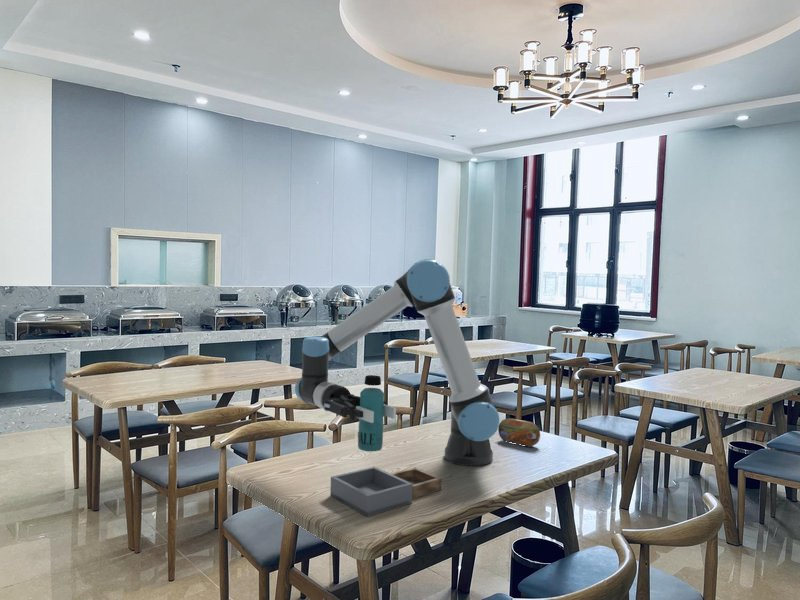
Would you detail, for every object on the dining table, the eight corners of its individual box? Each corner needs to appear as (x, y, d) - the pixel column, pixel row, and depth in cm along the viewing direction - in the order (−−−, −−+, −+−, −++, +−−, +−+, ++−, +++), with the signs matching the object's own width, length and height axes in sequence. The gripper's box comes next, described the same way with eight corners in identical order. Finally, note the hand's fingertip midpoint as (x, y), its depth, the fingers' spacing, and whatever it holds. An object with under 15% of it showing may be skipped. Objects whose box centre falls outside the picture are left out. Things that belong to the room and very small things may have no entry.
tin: (497, 440, 204) (498, 416, 204) (501, 438, 207) (502, 415, 206) (536, 449, 195) (537, 424, 194) (541, 447, 197) (541, 423, 197)
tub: (373, 484, 159) (374, 466, 158) (412, 503, 146) (412, 483, 146) (330, 495, 150) (330, 476, 150) (367, 516, 137) (367, 496, 137)
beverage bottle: (380, 449, 151) (384, 373, 150) (384, 457, 145) (387, 378, 144) (355, 449, 150) (359, 373, 149) (358, 458, 144) (361, 377, 143)
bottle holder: (414, 477, 165) (414, 467, 165) (441, 489, 156) (441, 478, 156) (383, 486, 158) (384, 475, 158) (410, 498, 149) (410, 487, 149)
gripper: (360, 407, 167) (412, 424, 149) (301, 415, 155) (351, 436, 137) (361, 381, 167) (413, 395, 149) (302, 387, 155) (352, 404, 137)
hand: (383, 415), depth 143 cm, fingers closed on beverage bottle, 6 cm apart
